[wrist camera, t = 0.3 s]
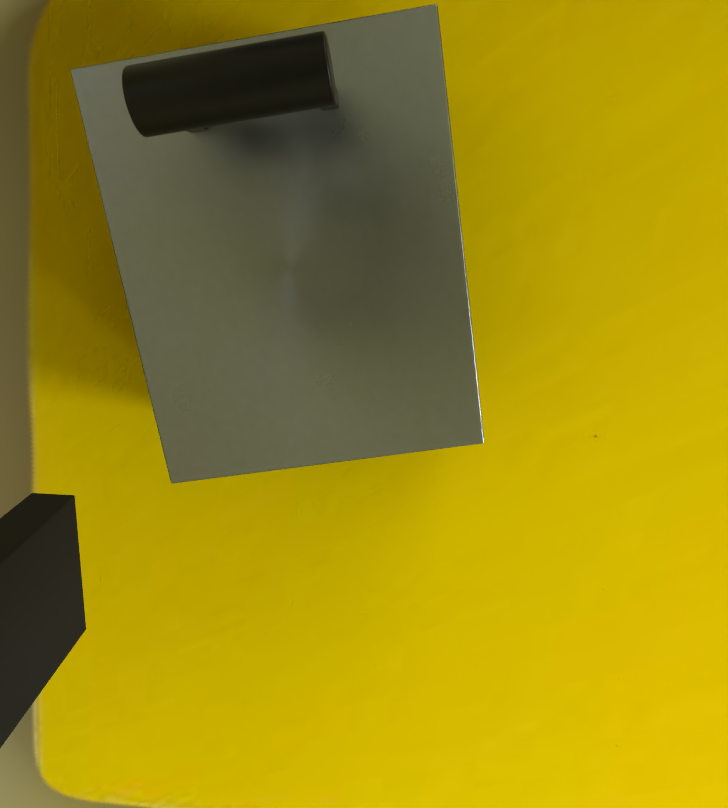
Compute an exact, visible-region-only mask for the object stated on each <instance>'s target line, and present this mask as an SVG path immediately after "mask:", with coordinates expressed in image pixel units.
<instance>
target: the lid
mask: <svg viewBox="0 0 728 808" xmlns="http://www.w3.org/2000/svg"><path fill="white" fill-rule="evenodd" d="M71 74H72V79H73V83H74V87H75V91H76V95H77V99H78V103H79V107H80V111H81V115H82V120H83V124H84V128H85V132H86V136H87V140H88V144H89V148H90V152H91V156H92V161H93V165H94V169H95V173H96V177H97V181H98V185H99V189H100V193H101V197H102V202H103V206H104V210H105V214H106V218H107V222H108V226H109V230H110V234H111V238H112V243H113V247H114V251H115V255H116V259H117V263H118V267H119V271H120V275H121V279H122V283H123V288H124V292H125V296H126V300H127V304H128V308H129V312H130V316H131V320H132V324H133V329H134V333H135V337H136V341H137V345H138V349H139V353H140V357H141V361H142V365H143V370H144V374H145V378H146V382H147V386H148V390H149V394H150V398H151V402H152V406H153V411H154V415H155V419H156V423H157V427H158V431H159V435H160V439H161V443H162V447H163V452H164V456H165V460H166V464H167V468H168V472H169V476H170V480H171V483H179V482H187V481H195V480H203V479H210V478H218V477H226V476H233V475H241V474H249V473H257V472H264V471H272V470H280V469H288V468H295V467H303V466H311V465H319V464H326V463H334V462H342V461H350V460H357V459H365V458H373V457H380V456H388V455H396V454H404V453H411V452H419V451H427V450H435V449H442V448H450V447H458V446H466V445H473V444H481V443H484V433H483V424H482V415H481V406H480V396H479V387H478V378H477V368H476V359H475V350H474V340H473V331H472V322H471V313H470V303H469V294H468V285H467V275H466V266H465V257H464V247H463V238H462V229H461V220H460V210H459V201H458V192H457V182H456V173H455V164H454V154H453V145H452V136H451V127H450V117H449V108H448V99H447V89H446V80H445V71H444V61H443V52H442V43H441V34H440V24H439V15H438V6H437V5H436V4H433V5H428V6H422V7H417V8H411V9H405V10H400V11H394V12H389V13H383V14H377V15H372V16H366V17H360V18H355V19H349V20H344V21H338V22H332V23H327V24H321V25H316V26H310V27H304V28H299V29H293V30H287V31H282V32H276V33H271V34H265V35H259V36H254V37H248V38H243V39H237V40H231V41H226V42H220V43H215V44H209V45H203V46H198V47H192V48H186V49H181V50H175V51H170V52H164V53H158V54H153V55H147V56H142V57H136V58H130V59H125V60H119V61H113V62H108V63H102V64H97V65H91V66H85V67H80V68H74V69H71Z"/></svg>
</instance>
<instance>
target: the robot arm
mask: <svg viewBox="0 0 728 808" xmlns="http://www.w3.org/2000/svg"><path fill="white" fill-rule="evenodd" d="M85 630H86V624H85V612H84V601H83V589H82V578H81V566H80V554H79V543H78V531H77V520H76V508H75V497H74V495H57V494H38V493H32V494H30V495H29V496H28V497H27V498H25V499H24V500H23V501H22V502H20V503H19V504H18V505H17V506H15V507H14V508H13V509H12V510H10V511H9V512H8V513H7V514H5V515H4V516H3V517H2V518H0V748H1V746H2V745H3V744H4V742H5V741H6V739H7V738H8V737H9V735H10V734H11V732H12V731H13V730H14V728H15V727H16V726H17V724H18V723H19V721H20V720H21V719H22V717H23V716H24V714H25V713H26V712H27V710H28V709H29V708H30V706H31V705H32V703H33V702H34V701H35V699H36V698H37V696H38V695H39V694H40V692H41V691H42V689H43V688H44V687H45V685H46V684H47V683H48V681H49V680H50V678H51V677H52V676H53V674H54V673H55V671H56V670H57V669H58V667H59V666H60V664H61V663H62V662H63V660H64V659H65V657H66V656H67V655H68V653H69V652H70V651H71V649H72V648H73V646H74V645H75V644H76V642H77V641H78V639H79V638H80V637H81V635H82V634H83V632H84V631H85Z"/></svg>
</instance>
